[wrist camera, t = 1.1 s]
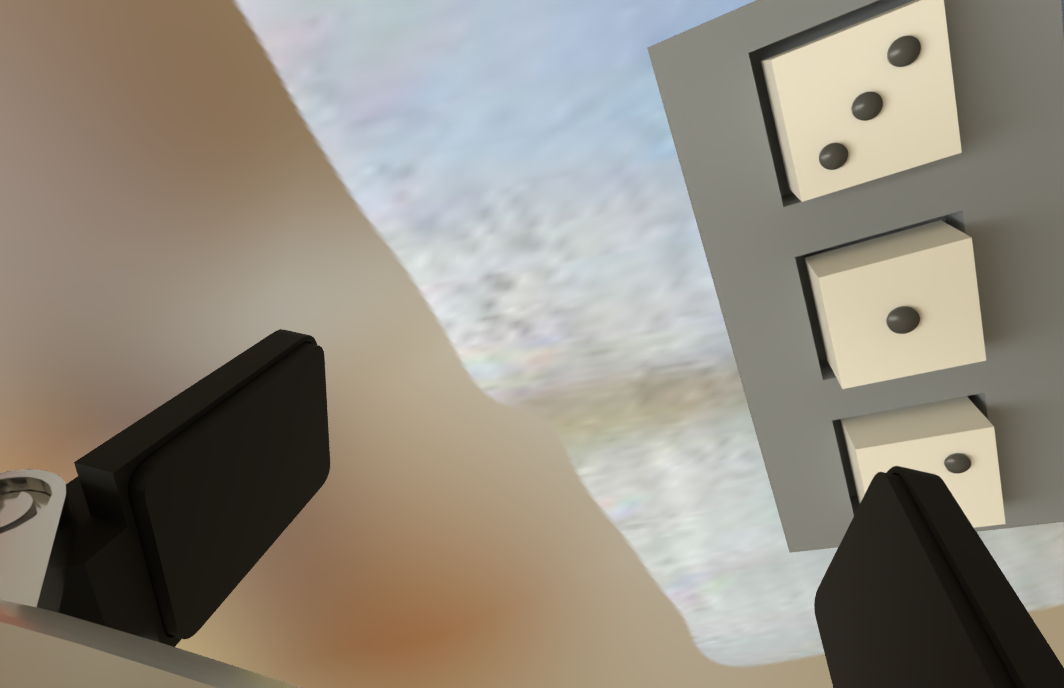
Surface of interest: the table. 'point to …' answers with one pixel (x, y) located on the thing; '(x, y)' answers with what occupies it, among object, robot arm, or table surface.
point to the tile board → (874, 211)
